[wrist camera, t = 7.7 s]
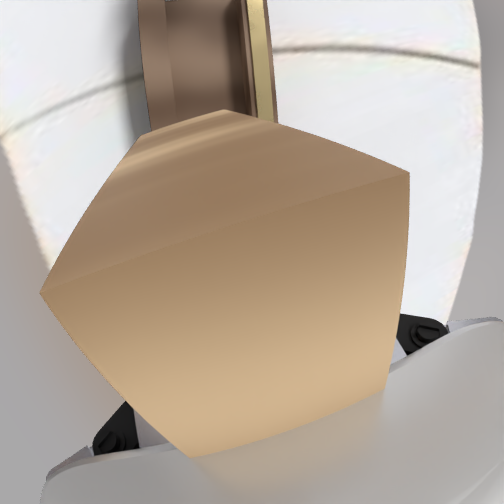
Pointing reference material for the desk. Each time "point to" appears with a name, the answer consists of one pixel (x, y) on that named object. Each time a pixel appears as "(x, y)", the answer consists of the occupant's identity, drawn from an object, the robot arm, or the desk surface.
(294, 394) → the wooden picture frame
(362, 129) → the desk surface
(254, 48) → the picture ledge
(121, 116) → the desk surface
